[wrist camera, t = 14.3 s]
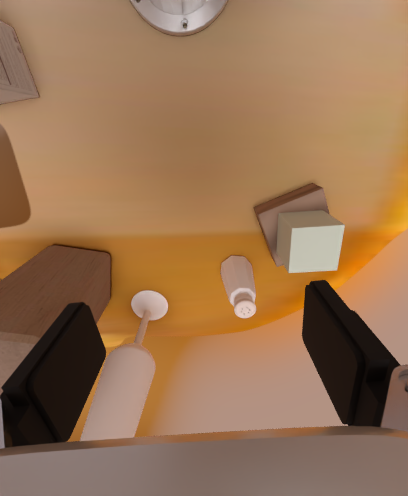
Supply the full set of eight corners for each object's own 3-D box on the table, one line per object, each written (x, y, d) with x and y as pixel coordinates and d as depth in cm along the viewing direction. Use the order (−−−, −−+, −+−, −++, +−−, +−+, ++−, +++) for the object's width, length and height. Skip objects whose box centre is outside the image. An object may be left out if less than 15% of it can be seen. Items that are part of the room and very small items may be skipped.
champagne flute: (140, 324, 47) (85, 487, 25) (124, 296, 45) (48, 452, 23) (173, 315, 46) (145, 477, 24) (159, 286, 44) (114, 438, 22)
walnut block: (253, 206, 38) (258, 214, 34) (311, 182, 37) (323, 188, 33) (270, 255, 42) (277, 266, 38) (324, 235, 40) (336, 245, 36)
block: (112, 251, 41) (38, 345, 23) (112, 300, 45) (49, 413, 27) (49, 241, 40) (-78, 331, 22) (55, 293, 44) (-49, 403, 26)
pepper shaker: (247, 250, 41) (261, 288, 31) (255, 277, 43) (270, 321, 33) (215, 259, 41) (219, 300, 31) (225, 286, 44) (231, 331, 34)
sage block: (278, 213, 34) (292, 228, 29) (322, 210, 34) (344, 224, 29) (276, 252, 37) (288, 273, 31) (317, 249, 37) (337, 270, 31)
